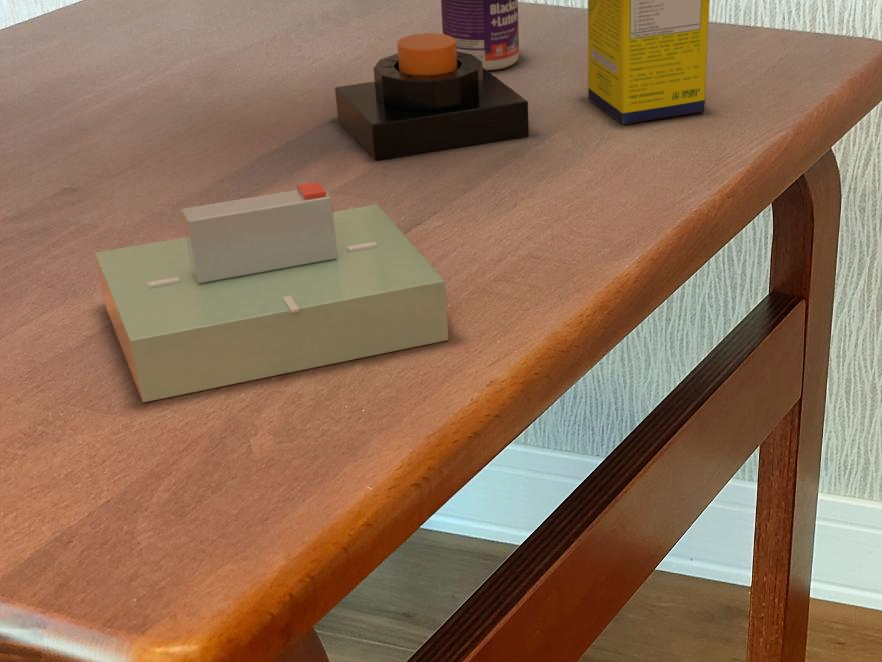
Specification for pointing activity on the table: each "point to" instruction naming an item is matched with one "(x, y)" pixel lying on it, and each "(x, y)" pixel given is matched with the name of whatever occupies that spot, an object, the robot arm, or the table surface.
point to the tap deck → (270, 309)
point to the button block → (430, 109)
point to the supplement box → (647, 57)
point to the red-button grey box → (260, 233)
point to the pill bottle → (484, 29)
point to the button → (427, 54)
